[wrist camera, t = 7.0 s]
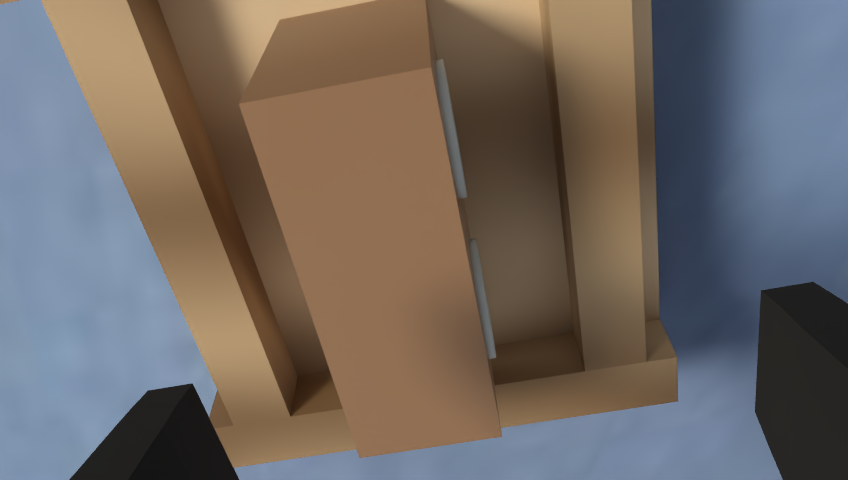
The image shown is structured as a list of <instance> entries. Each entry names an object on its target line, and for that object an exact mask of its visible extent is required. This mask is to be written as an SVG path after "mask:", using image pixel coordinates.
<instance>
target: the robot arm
mask: <svg viewBox="0 0 848 480" xmlns="http://www.w3.org/2000/svg"><path fill="white" fill-rule="evenodd" d="M755 413H756V415H757V418H758V420H759V423H760V425H761V428H762V430H763V433H764V435H765V438H766V440H767V443H768V445H769V448H770V450H771V453H772V455H773V457H774V460H775V462H776V464H777V467H778V469H779V471H780V474H781V476H782V478H783V480H848V304H847V303H846V302H844V301H843V300H841V299H840V298H838V297H836V296H835V295H833V294H832V293H830V292H829V291H827V290H825V289H824V288H822V287H820V286H819V285H817V284H816V283H814V282H810V283H804V284H798V285H792V286H786V287H780V288H773V289H767V290H761V304H760V323H759V343H758V363H757V382H756V402H755ZM70 480H239V478H238V476H237V474H236V472H235V470H234V468H233V466H232V464H231V462H230V460H229V458H228V456H227V454H226V452H225V449H224V447H223V445H222V443H221V441H220V439H219V437H218V435H217V433H216V431H215V429H214V427H213V425H212V423H211V421H210V419H209V416H208V414H207V412H206V410H205V408H204V406H203V404H202V402H201V400H200V398H199V396H198V394H197V392H196V390H195V388H194V385H193V383H192V384H186V385H180V386H174V387H168V388H162V389H156V390H150V391H147V392H146V393H145V395H144V396H143V397H142V398H141V399H140V400H139V401H138V402H137V403H136V404H135V405H134V406H133V407H132V408H131V409H130V411H129V412H128V413H127V414H126V415H125V416H124V417H123V419H122V420H121V421H120V422H119V423H118V424H117V425H116V426H115V428H114V429H113V430H112V431H111V432H110V433H109V435H108V436H107V437H106V438H105V439H104V440H103V442H102V443H101V444H100V445H99V446H98V447H97V448H96V450H95V451H94V452H93V453H92V454H91V455H90V457H89V458H88V459H87V460H86V461H85V462H84V464H83V465H82V466H81V467H80V468H79V469H78V471H77V472H76V473H75V474H74V475H73V476H72V477H71V479H70Z"/></svg>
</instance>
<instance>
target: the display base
mask: <svg viewBox="0 0 848 480" xmlns="http://www.w3.org/2000/svg"><path fill="white" fill-rule="evenodd" d="M14 1H19V0H0V4H4V3H9V2H14ZM41 1H42V3H43V6H44V8H45V10H46V12H47V14H48V17H49V19H50V21H51V23H52V25H53V28H54V30H55V32H56V34H57V37H58V39H59V41H60V43H61V45H62V48H63V50H64V52H65V54H66V56H67V59H68V61H69V63H70V65H71V67H72V70H73V72H74V74H75V76H76V78H77V81H78V83H79V85H80V87H81V90H82V92H83V94H84V96H85V98H86V101H87V103H88V105H89V107H90V109H91V112H92V114H93V116H94V118H95V120H96V123H97V125H98V127H99V129H100V131H101V134H102V136H103V138H104V140H105V143H106V145H107V147H108V149H109V151H110V154H111V156H112V158H113V160H114V162H115V165H116V167H117V169H118V171H119V173H120V176H121V178H122V180H123V182H124V184H125V187H126V189H127V191H128V193H129V196H130V198H131V200H132V202H133V204H134V207H135V209H136V211H137V213H138V215H139V218H140V220H141V222H142V224H143V226H144V229H145V231H146V233H147V235H148V237H149V240H150V242H151V244H152V246H153V249H154V251H155V253H156V255H157V257H158V260H159V262H160V264H161V266H162V268H163V271H164V273H165V275H166V277H167V279H168V282H169V284H170V286H171V288H172V290H173V293H174V295H175V297H176V299H177V302H178V304H179V306H180V308H181V310H182V313H183V315H184V317H185V319H186V321H187V324H188V326H189V328H190V330H191V332H192V335H193V337H194V339H195V341H196V343H197V346H198V348H199V350H200V352H201V355H202V357H203V359H204V361H205V363H206V366H207V368H208V370H209V372H210V374H211V377H212V379H213V381H214V383H215V385H216V388H217V393H216V396H215V400H214V403H213V406H212V410H211V413H210V417H209V419H210V421H211V423H212V425H213V427H214V429H215V431H216V433H217V435H218V437H219V439H220V441H221V443H222V445H223V447H224V449H225V452H226V454H227V456H228V458H229V460H230V462H231V464H232V466H233V468H234V467H241V466H248V465H255V464H261V463H268V462H275V461H281V460H288V459H295V458H301V457H308V456H315V455H322V454H328V453H335V452H342V451H348V450H355V449H356V446H355V443H354V440H353V437H352V434H351V431H350V428H349V425H348V422H347V419H346V416H345V414H344V411H343V408H342V405H341V402H340V399H339V396H338V393H337V390H336V387H335V384H334V381H333V378H332V376H331V373H330V370H329V367H328V364H327V361H326V358H325V355H324V352H323V349H322V346H321V343H320V340H319V338H318V335H317V332H316V329H315V326H314V323H313V320H312V317H311V314H310V311H309V308H308V305H307V302H306V300H305V297H304V294H303V291H302V288H301V285H300V282H299V279H298V276H297V273H296V270H295V267H294V264H293V261H292V259H291V256H290V253H289V250H288V247H287V244H286V241H285V238H284V235H283V232H282V229H281V226H280V223H279V221H278V218H277V215H276V212H275V209H274V206H273V203H272V200H271V197H270V194H269V191H268V188H267V185H266V183H265V180H264V177H263V174H262V171H261V168H260V165H259V162H258V159H257V156H256V153H255V150H254V147H253V145H252V142H251V139H250V136H249V133H248V130H247V127H246V124H245V121H244V118H243V115H242V112H241V109H240V107H239V102H240V100H241V98H242V96H243V94H244V92H245V90H246V88H247V86H248V84H249V82H250V80H251V78H252V75H253V73H254V71H255V69H256V67H257V65H258V63H259V61H260V59H261V57H262V55H263V53H264V51H265V49H266V47H267V45H268V43H269V40H270V38H271V36H272V34H273V32H274V30H275V28H276V26H277V24H278V22H279V20H280V19H285V18H290V17H295V16H300V15H305V14H310V13H315V12H320V11H325V10H330V9H335V8H340V7H345V6H350V5H355V4H360V3H365V2H370V1H375V0H41ZM426 1H427V7H428V12H429V17H430V23H431V28H432V33H433V39H434V44H435V50H436V55H437V60H439V59H443V61H444V66H445V70H446V75H447V81H448V86H449V91H450V97H451V102H452V108H453V113H454V119H455V125H456V130H457V136H458V142H459V148H460V154H461V160H462V166H463V172H464V178H465V185H466V191H467V198H463V200H464V205H465V210H466V216H467V221H468V227H469V232H470V237H471V239H473V238H476V241H477V246H478V251H479V256H480V262H481V267H482V273H483V278H484V284H485V290H486V296H487V301H488V307H489V313H490V319H491V325H492V332H493V338H494V344H495V351H496V358H493V359H491V363H492V370H493V377H494V384H495V391H496V398H497V405H498V412H499V419H500V426H501V428H503V427H509V426H516V425H523V424H529V423H536V422H543V421H550V420H556V419H563V418H570V417H576V416H583V415H590V414H596V413H603V412H610V411H617V410H623V409H630V408H637V407H643V406H650V405H657V404H663V403H670V402H677V401H678V365H677V355H676V353H675V351H674V349H673V347H672V344H671V342H670V340H669V338H668V336H667V333H666V331H665V329H664V327H663V325H662V322H661V320H660V303H659V267H658V230H657V194H656V158H655V121H654V85H653V48H652V12H651V0H426Z"/></svg>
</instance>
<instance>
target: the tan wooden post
mask: <svg viewBox="0 0 848 480" xmlns="http://www.w3.org/2000/svg"><path fill="white" fill-rule="evenodd" d="M239 107H240V109H241V112H242V115H243V118H244V121H245V124H246V127H247V130H248V133H249V136H250V139H251V142H252V145H253V147H254V150H255V153H256V156H257V159H258V162H259V165H260V168H261V171H262V174H263V177H264V180H265V183H266V185H267V188H268V191H269V194H270V197H271V200H272V203H273V206H274V209H275V212H276V215H277V218H278V221H279V223H280V226H281V229H282V232H283V235H284V238H285V241H286V244H287V247H288V250H289V253H290V256H291V259H292V261H293V264H294V267H295V270H296V273H297V276H298V279H299V282H300V285H301V288H302V291H303V294H304V297H305V300H306V302H307V305H308V308H309V311H310V314H311V317H312V320H313V323H314V326H315V329H316V332H317V335H318V338H319V340H320V343H321V346H322V349H323V352H324V355H325V358H326V361H327V364H328V367H329V370H330V373H331V376H332V378H333V381H334V384H335V387H336V390H337V393H338V396H339V399H340V402H341V405H342V408H343V411H344V414H345V416H346V419H347V422H348V425H349V428H350V431H351V434H352V437H353V440H354V443H355V446H356V449H357V452H358V454H359V457H360V458H363V457H369V456H376V455H383V454H389V453H396V452H403V451H409V450H416V449H423V448H429V447H436V446H443V445H449V444H456V443H463V442H469V441H476V440H483V439H489V438H496V437H502V433H501V426H500V419H499V412H498V405H497V398H496V391H495V384H494V377H493V370H492V363H491V359H493V358H496V351H495V344H494V338H493V332H492V325H491V319H490V313H489V307H488V301H487V296H486V290H485V284H484V278H483V273H482V267H481V262H480V256H479V251H478V246H477V241H476V238H473V239H471V237H470V232H469V227H468V221H467V216H466V210H465V205H464V200H463V198H467V191H466V185H465V178H464V172H463V166H462V160H461V154H460V148H459V142H458V136H457V130H456V125H455V119H454V113H453V108H452V102H451V97H450V91H449V86H448V81H447V75H446V70H445V66H444V61H443V59H439V60H437V55H436V50H435V44H434V39H433V33H432V28H431V23H430V17H429V12H428V7H427V1H426V0H375V1H370V2H365V3H360V4H355V5H350V6H345V7H340V8H335V9H330V10H325V11H320V12H315V13H310V14H305V15H300V16H295V17H290V18H285V19H280V20H279V22H278V24H277V26H276V28H275V30H274V32H273V34H272V36H271V38H270V40H269V43H268V45H267V47H266V49H265V51H264V53H263V55H262V57H261V59H260V61H259V63H258V65H257V67H256V69H255V71H254V73H253V75H252V78H251V80H250V82H249V84H248V86H247V88H246V90H245V92H244V94H243V96H242V98H241V100H240V102H239Z"/></svg>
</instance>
